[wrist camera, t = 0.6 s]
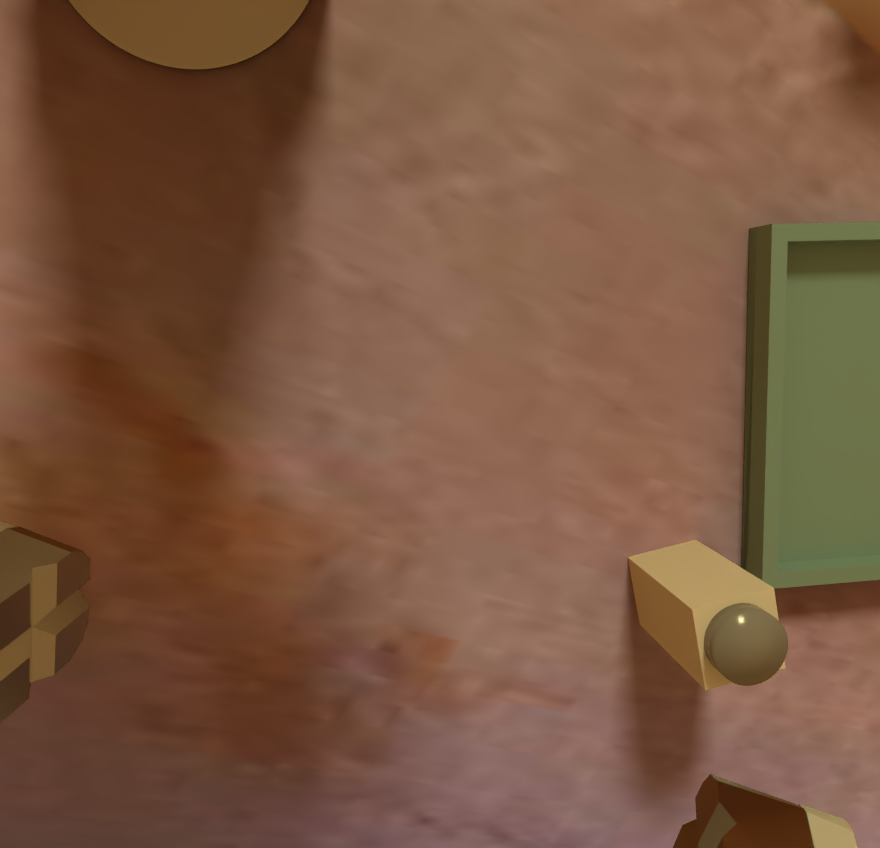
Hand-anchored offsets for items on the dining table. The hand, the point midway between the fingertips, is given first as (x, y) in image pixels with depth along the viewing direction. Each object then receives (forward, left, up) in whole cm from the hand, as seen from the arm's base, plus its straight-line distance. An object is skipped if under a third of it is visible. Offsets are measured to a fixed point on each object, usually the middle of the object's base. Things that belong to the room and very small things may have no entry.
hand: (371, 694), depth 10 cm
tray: (+2, +33, -36) cm, 49 cm away
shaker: (+13, +20, -36) cm, 44 cm away
